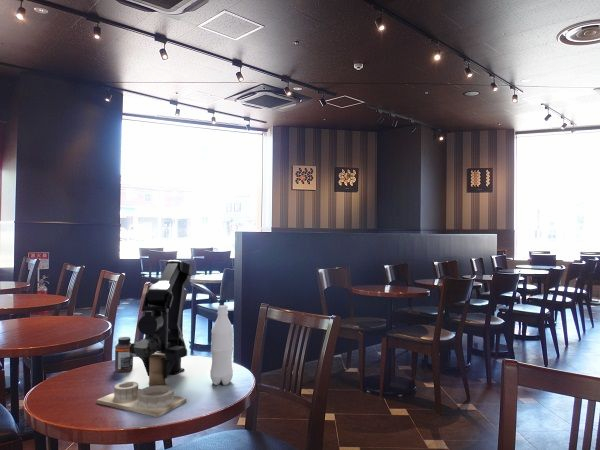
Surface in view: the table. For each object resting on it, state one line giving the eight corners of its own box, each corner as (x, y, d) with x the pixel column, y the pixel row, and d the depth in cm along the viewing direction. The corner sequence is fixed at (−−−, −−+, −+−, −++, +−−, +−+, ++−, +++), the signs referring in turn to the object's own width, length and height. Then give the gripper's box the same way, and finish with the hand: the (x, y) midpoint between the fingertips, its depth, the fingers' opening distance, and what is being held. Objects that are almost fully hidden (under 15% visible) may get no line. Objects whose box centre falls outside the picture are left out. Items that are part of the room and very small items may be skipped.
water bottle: (227, 387, 142) (229, 308, 142) (206, 385, 143) (208, 307, 144) (235, 380, 149) (237, 304, 149) (215, 378, 150) (216, 303, 151)
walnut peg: (156, 383, 145) (157, 352, 145) (168, 385, 143) (169, 354, 143) (145, 388, 140) (146, 356, 140) (158, 390, 138) (158, 358, 138)
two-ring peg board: (128, 389, 138) (128, 376, 139) (186, 401, 130) (186, 387, 130) (96, 403, 128) (97, 389, 128) (157, 417, 119) (158, 402, 119)
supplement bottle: (115, 368, 160) (116, 336, 160) (133, 367, 161) (133, 335, 162) (113, 373, 154) (114, 340, 154) (132, 372, 156) (133, 339, 156)
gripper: (116, 329, 138) (115, 380, 138) (164, 336, 131) (163, 389, 131) (142, 323, 148) (141, 370, 148) (188, 328, 141) (187, 378, 141)
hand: (157, 377), depth 142 cm, fingers open, 6 cm apart
